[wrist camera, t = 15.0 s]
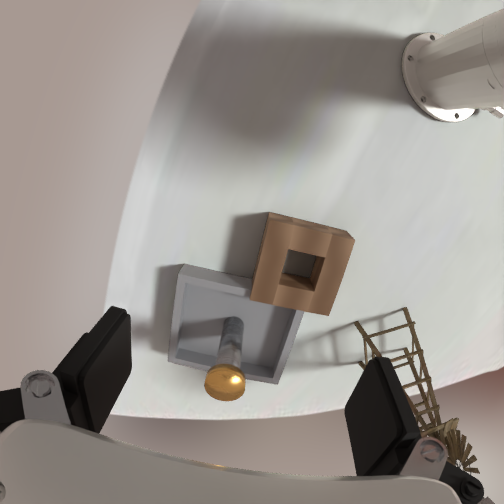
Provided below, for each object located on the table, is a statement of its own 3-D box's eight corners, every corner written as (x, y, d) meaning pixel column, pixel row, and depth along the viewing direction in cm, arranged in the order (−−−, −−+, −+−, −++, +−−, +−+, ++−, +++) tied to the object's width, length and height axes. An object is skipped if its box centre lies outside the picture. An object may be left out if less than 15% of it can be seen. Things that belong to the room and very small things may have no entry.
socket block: (346, 230, 39) (355, 240, 35) (323, 301, 42) (328, 315, 38) (268, 211, 38) (269, 219, 34) (250, 285, 42) (249, 300, 38)
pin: (252, 315, 42) (248, 377, 30) (245, 340, 43) (240, 404, 32) (221, 308, 42) (207, 368, 30) (216, 334, 43) (202, 396, 31)
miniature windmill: (406, 351, 45) (486, 504, 16) (357, 366, 46) (413, 537, 17) (406, 303, 42) (516, 465, 14) (352, 319, 43) (429, 509, 14)
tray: (304, 290, 41) (307, 301, 38) (276, 370, 46) (277, 384, 43) (184, 263, 41) (178, 273, 38) (172, 348, 45) (167, 361, 42)
